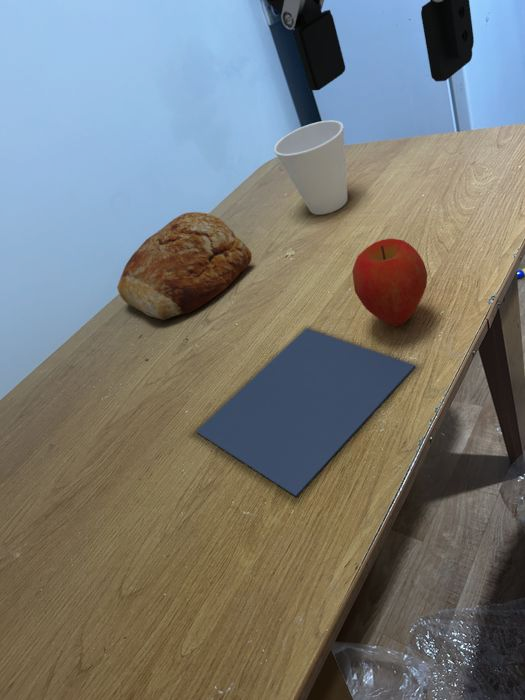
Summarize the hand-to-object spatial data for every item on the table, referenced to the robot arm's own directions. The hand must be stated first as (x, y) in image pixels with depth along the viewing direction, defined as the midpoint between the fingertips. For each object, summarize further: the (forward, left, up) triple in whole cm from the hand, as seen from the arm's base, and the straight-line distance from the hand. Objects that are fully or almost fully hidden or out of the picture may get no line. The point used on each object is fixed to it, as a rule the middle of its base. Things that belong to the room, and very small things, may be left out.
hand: (385, 76), depth 36 cm
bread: (+55, -5, -34) cm, 65 cm away
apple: (+15, -11, -34) cm, 38 cm away
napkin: (+17, +5, -33) cm, 38 cm away
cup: (+46, -33, -34) cm, 66 cm away
